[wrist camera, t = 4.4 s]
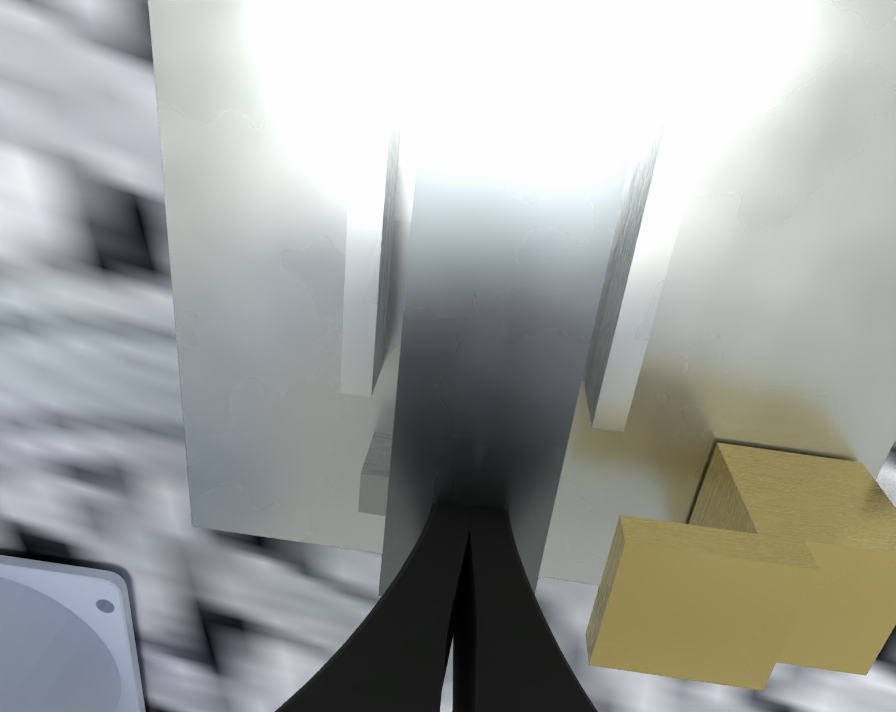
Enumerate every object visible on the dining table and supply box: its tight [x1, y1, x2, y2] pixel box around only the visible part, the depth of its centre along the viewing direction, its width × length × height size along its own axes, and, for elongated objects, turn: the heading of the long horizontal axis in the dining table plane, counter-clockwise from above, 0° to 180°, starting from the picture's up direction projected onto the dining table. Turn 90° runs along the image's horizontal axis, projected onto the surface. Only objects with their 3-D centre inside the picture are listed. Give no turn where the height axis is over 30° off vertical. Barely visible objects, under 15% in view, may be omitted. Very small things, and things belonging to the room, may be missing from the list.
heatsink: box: [148, 0, 896, 585], centre depth 13 cm, size 15×15×3 cm
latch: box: [586, 443, 896, 691], centre depth 14 cm, size 3×5×4 cm, turn 84°
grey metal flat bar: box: [379, 0, 666, 596], centre depth 11 cm, size 13×3×1 cm, turn 174°
